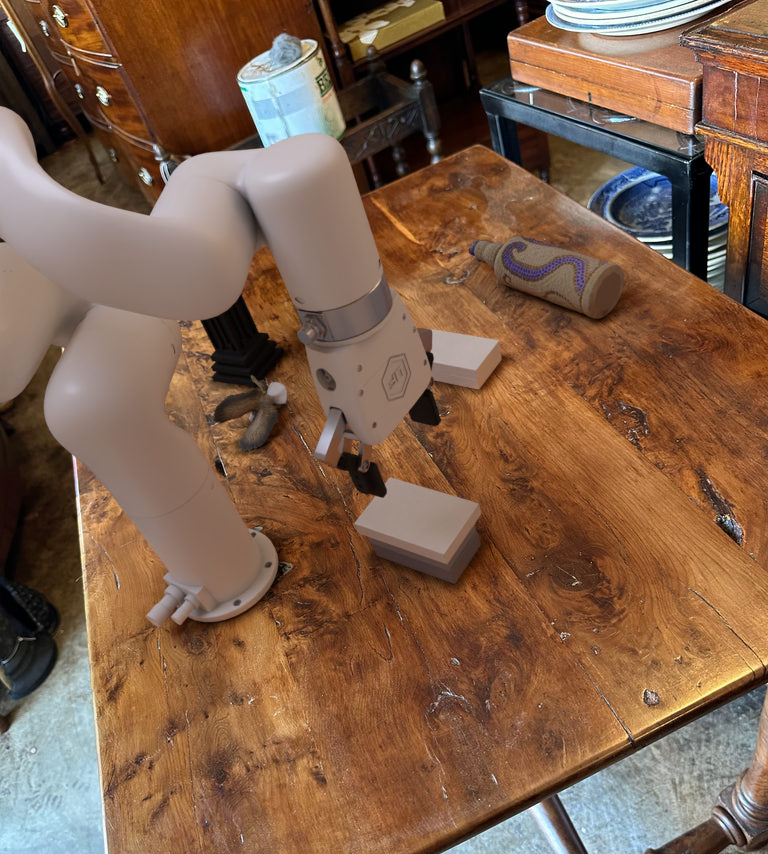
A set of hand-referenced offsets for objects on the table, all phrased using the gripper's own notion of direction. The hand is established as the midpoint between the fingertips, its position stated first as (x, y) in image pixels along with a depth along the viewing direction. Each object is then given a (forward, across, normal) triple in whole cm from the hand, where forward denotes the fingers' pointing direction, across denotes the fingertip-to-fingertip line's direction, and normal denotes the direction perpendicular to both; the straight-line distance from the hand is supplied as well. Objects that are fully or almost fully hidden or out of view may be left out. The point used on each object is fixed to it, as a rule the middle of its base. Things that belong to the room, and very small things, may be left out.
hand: (400, 455), depth 74 cm
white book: (+10, 0, 0) cm, 10 cm away
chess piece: (+14, +20, +44) cm, 51 cm away
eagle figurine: (+14, +10, +34) cm, 37 cm away
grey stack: (+14, 0, +1) cm, 14 cm away
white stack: (+14, +28, +14) cm, 34 cm away
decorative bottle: (+14, +47, +9) cm, 50 cm away
